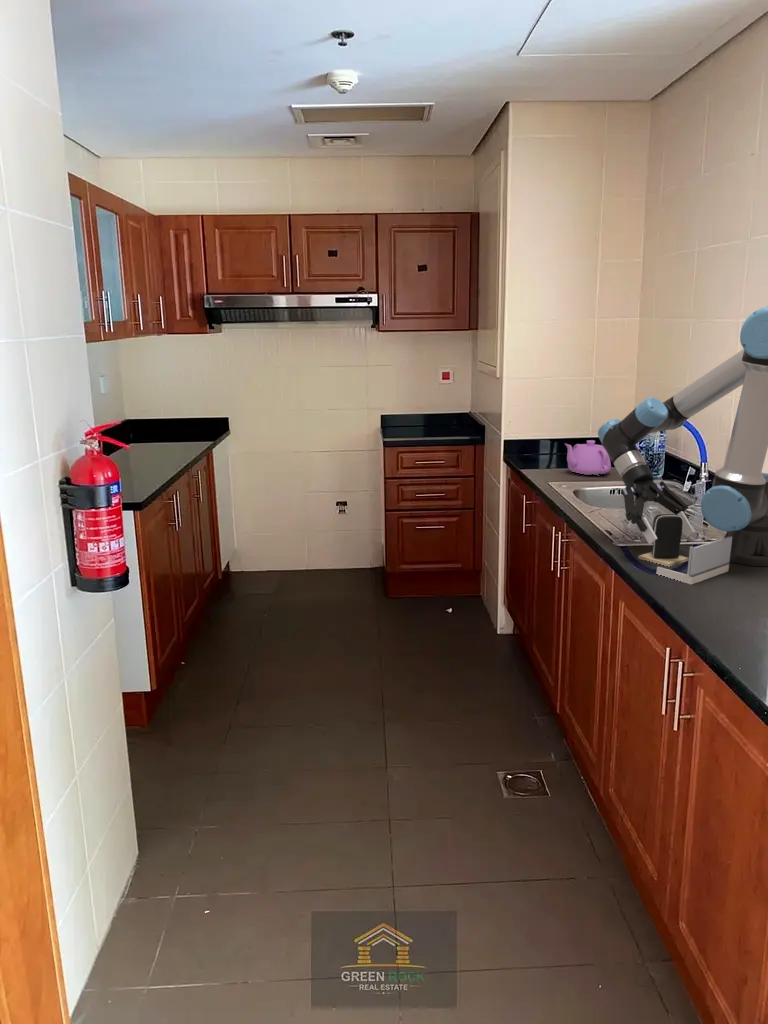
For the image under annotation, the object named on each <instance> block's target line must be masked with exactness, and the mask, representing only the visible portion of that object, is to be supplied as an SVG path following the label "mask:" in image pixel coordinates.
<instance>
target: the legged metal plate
mask: <svg viewBox="0 0 768 1024" xmlns="http://www.w3.org/2000/svg"><path fill="white" fill-rule="evenodd" d="M731 544H732V537H731V536H729V537H726V538H724V537H723V538H720V539H717V540H713V541H711V542H710V541H709V542H706V543H704V544H701V545H697V546H694V547H693V546H690V547H689V554H688V558H689V560H688V561H687V563H688V564H687V572H686V573H682V572H680V571H675V570H672V569H667V568H665V567H661V566H657V567H656V573H655V574H658V575H657V576H660V575H662V576H661V577H663V576H665V577H664V578H666V577H668V578H667V579H670V578H671V579H670V580H673V579H675V580H674V581H677V580H678V581H677V582H680V581H681V583H684V584H687V585H691V586H692V585H694V584H697V583H700V582H703V581H705V580H709V579H711V578H713V577H716V576H718V575H719V576H720V575H722V574H724V573H727V572H729V569H730V552H731Z"/></svg>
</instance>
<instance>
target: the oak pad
mask: <svg viewBox="0 0 768 1024" xmlns="http://www.w3.org/2000/svg"><path fill="white" fill-rule="evenodd" d="M638 560H642V561H645V560H646V561H645V562H649V561H650V563H652V562H653V564H656V563H657V564H656V565H659V564H661V565H660V566H663V565H664V567H667V566H668V567H667V568H670V566H671V567H674V566H676V564H677V565H680V564H683V563H685V562H689V556H688V557H687V556H683V555H680V554H679V557H678V558H654V557H653V556H652V551H651V552H647V553H643V554H640V555H638ZM673 565H674V566H673Z"/></svg>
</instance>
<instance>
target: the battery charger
mask: <svg viewBox="0 0 768 1024" xmlns="http://www.w3.org/2000/svg"><path fill="white" fill-rule="evenodd" d="M682 525H683V521H682V519H681V517H679V516H677V515H675V514H674V513H667V514H666V513H660V514H657V515H655V516H654V518H653V521H652V527H651V528H652V529H653V531H654V533H655V535H656V536H657V538H658V539H656V540H655V541H654V542H653V543H652V549H651V552H652V556H653V557H654V558H678V557H679V555H680V548H681V541H682V535H683V530H682Z"/></svg>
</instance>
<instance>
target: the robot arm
mask: <svg viewBox="0 0 768 1024" xmlns="http://www.w3.org/2000/svg"><path fill="white" fill-rule="evenodd" d="M739 334H740V335H739V342H740V344H741V346H742V349H741V350H739V351H738V352H736V353H735V354H733V355H732V356H731V357H729V358H727V359H726V360H725V361H723V362H722V363H720V364H718V365H717V366H715V367H714V368H712V369H711V370H709V371H708V372H707V373H705V374H703V375H702V376H701V377H699V378H698V379H696V380H695V381H693V382H692V383H689V385H687V386H686V387H684V388H683V389H681V390H680V391H678V392H677V393H674V395H673V396H670V398H668V399H666V400H665V401H663V402H662V401H661V400H660V399H658V398H655V397H652V396H650V397H647V398H645V399H644V400H643V401H642V402H640V403H639V404H637V406H636V407H635V408H634V409H633V410H631V412H630V413H628V414H627V415H626V416H625V417H624V418H623V419H622V420H620V419H618V418H615V419H614V418H613V419H611V420H608V421H607V422H606V423H603V424H602V425H601V426H600V427H599V428H598V430H597V436H598V439H599V441H600V443H601V445H602V446H603V447H604V448H605V450H606V452H607V453H608V455H609V458H610V461H611V463H612V464H613V465H614V467H615V469H616V470H617V472H618V475H619V476H620V477H621V480H622V482H623V484H624V485H625V487H624V488H622V490H621V493H622V496H623V500H624V508H625V518H626V521H628V522H630V523H631V524H633V525H635V524H636V525H637V527H638V530H639V531H640V532H641V533H642V534H643V536H644V537H645V539H646V541H647V543H648V545H653V542H654V541H655V540H656V539H658V538H657V536H656V535H655V533H654V531H653V529H652V528H653V527H652V525H651V524H650V522H649V521H648V519H647V517H646V516H643V514H644V513H643V512H644V507H645V503H647V502H653V503H658V504H659V505H661V506H662V507H664V509H665V508H666V510H668V511H669V512H671V514H674V515H677V516H679V517H681V519H682V521H683V525H682V533H683V534H684V535H685V538H690V537H691V536H692V535H694V534H695V533H696V530H695V529H694V527H693V526H692V524H691V522H690V519H689V517H688V515H687V514H686V512H685V511H687V509H689V506H688V504H686V503H685V502H684V501H683V500H682V499H681V498H680V497H679V496H678V495H677V494H676V493H674V491H672V490H671V489H670V488H669V487H668V485H667V484H666V482H664V481H663V480H661V481H660V482H658V483H656V482H654V474H653V472H652V470H651V469H650V467H649V466H648V465H647V461H646V460H645V458H644V456H643V455H642V454H641V452H640V451H639V450H640V449H638V446H637V445H638V444H639V443H641V441H642V440H644V439H645V438H646V437H647V436H648V435H651V433H657V432H663V431H669V430H670V431H673V430H676V429H678V428H681V427H683V426H684V425H685V424H686V422H687V421H688V420H689V419H690V418H692V417H693V416H695V415H696V414H698V413H700V412H702V411H703V410H704V409H706V408H708V407H709V406H711V405H712V404H714V403H716V402H717V401H719V400H720V399H722V398H724V397H725V396H727V395H728V394H730V393H732V392H733V391H735V390H737V389H738V388H739V387H741V386H742V387H741V391H740V397H739V400H738V404H737V409H736V414H735V417H734V422H733V425H732V431H731V434H730V437H729V442H728V447H727V452H726V456H725V459H724V463H723V465H722V467H720V468H718V469H717V470H715V473H714V478H713V481H712V486H711V487H710V488H709V489H708V490H706V492H705V493H704V494H703V495H702V497H701V501H700V510H701V515H702V516H703V518H704V519H705V521H706V522H707V523H708V524H709V525H710V526H711V527H713V528H714V529H717V530H719V531H722V532H725V534H724V536H723V538H726V537H729V536H731V537H732V544H731V552H730V561H729V563H730V562H731V563H735V564H739V565H743V566H744V565H745V566H753V567H768V472H767V473H766V472H762V471H763V468H764V464H765V460H766V456H767V451H768V305H767V306H764V307H760V308H758V309H757V310H755V311H754V312H752V313H750V314H749V316H747V318H746V319H745V321H744V322H743V324H742V326H741V329H740V333H739Z"/></svg>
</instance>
